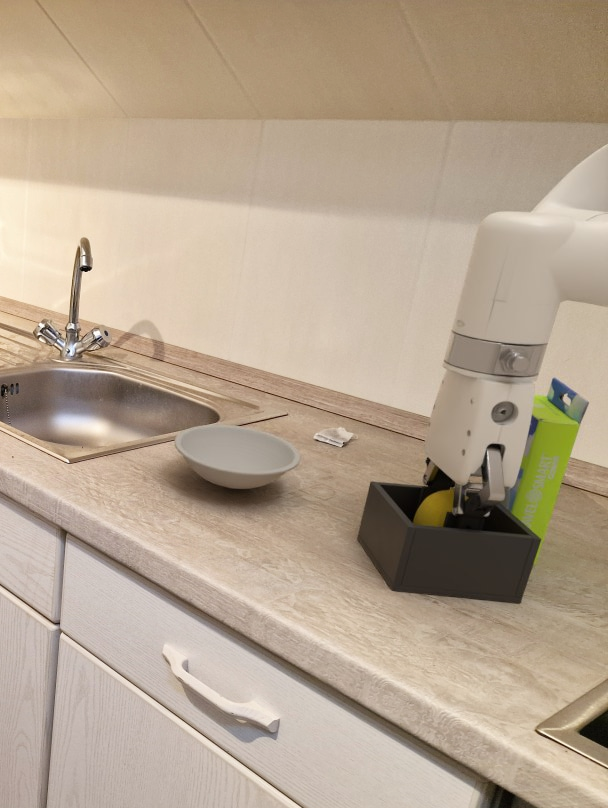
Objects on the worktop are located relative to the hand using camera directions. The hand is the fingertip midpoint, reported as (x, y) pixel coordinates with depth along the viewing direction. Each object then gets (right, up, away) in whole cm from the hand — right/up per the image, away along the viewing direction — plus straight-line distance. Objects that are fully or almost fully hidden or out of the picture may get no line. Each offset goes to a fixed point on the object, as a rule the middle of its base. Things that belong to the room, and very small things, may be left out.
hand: (442, 536), depth 83 cm
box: (+11, -1, +8) cm, 13 cm away
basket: (0, -3, +1) cm, 3 cm away
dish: (-15, +5, +20) cm, 25 cm away
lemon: (0, -3, +1) cm, 3 cm away
